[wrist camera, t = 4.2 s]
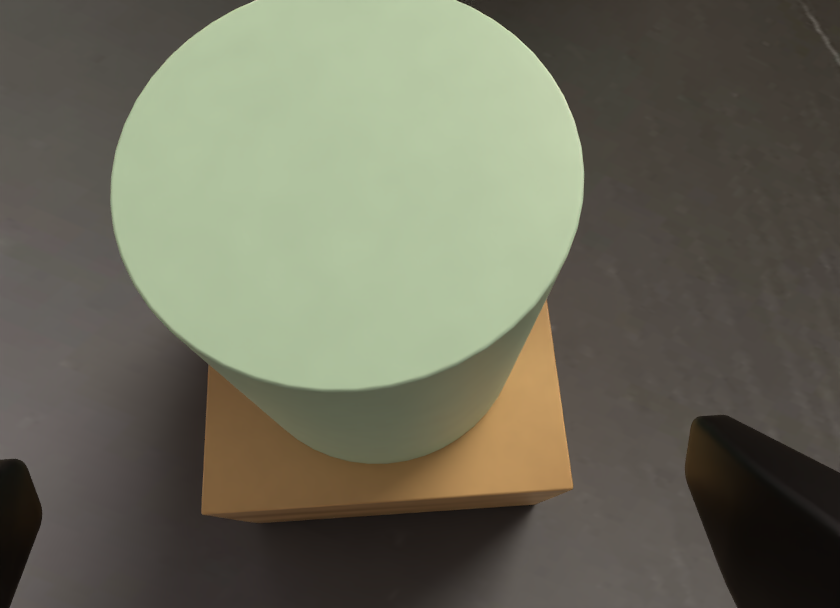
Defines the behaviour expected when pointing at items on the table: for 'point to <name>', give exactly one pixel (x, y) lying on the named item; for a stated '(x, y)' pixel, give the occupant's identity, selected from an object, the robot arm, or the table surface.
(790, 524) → the robot arm
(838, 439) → the table surface
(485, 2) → the table surface
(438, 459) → the stand
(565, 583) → the table surface
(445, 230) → the pale green cylinder
